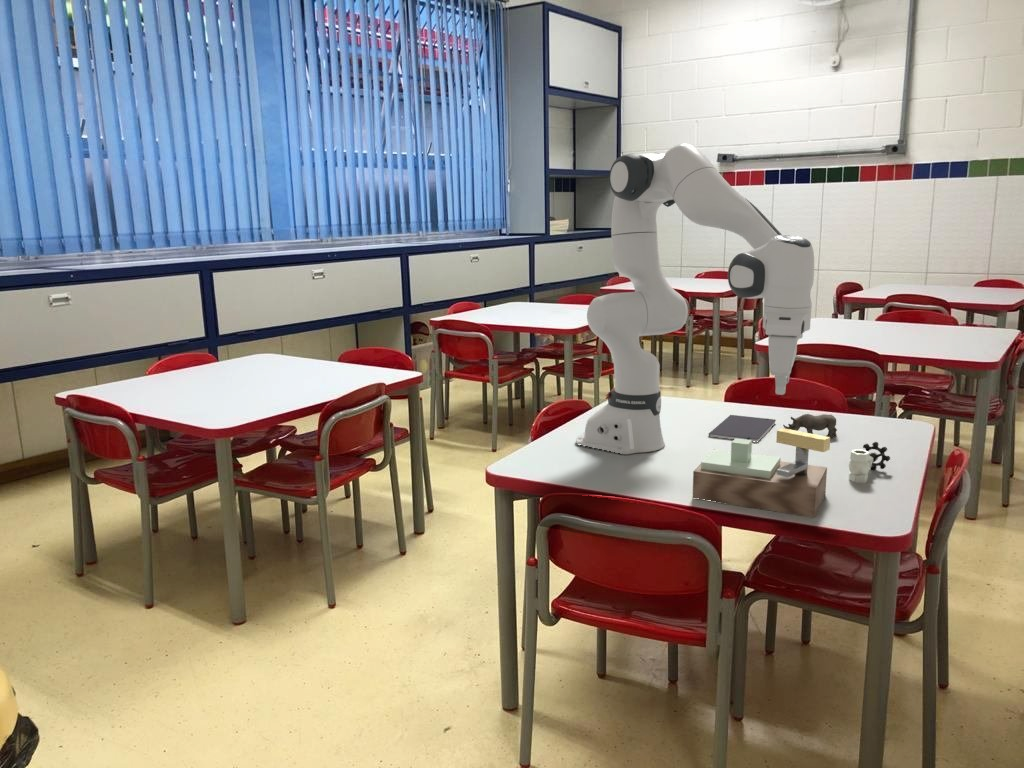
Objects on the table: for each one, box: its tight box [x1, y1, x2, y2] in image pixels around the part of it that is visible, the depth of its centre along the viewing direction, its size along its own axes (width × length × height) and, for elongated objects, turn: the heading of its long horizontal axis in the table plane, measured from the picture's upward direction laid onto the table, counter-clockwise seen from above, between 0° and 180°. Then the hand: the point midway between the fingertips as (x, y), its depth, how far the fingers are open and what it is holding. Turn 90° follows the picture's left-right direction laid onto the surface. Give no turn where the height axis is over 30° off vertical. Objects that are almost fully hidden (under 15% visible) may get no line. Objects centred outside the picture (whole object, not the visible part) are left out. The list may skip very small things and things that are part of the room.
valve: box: [848, 441, 891, 484], centre depth 179 cm, size 7×7×12 cm
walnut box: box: [692, 460, 828, 518], centre depth 167 cm, size 24×14×6 cm, turn 61°
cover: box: [700, 438, 781, 478], centre depth 168 cm, size 14×10×6 cm
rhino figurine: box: [783, 413, 838, 439], centre depth 210 cm, size 4×14×6 cm, turn 82°
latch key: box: [776, 427, 831, 477], centre depth 160 cm, size 9×10×8 cm
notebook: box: [708, 414, 777, 443], centre depth 217 cm, size 13×2×21 cm
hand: (782, 388), depth 162 cm, fingers open, 8 cm apart
